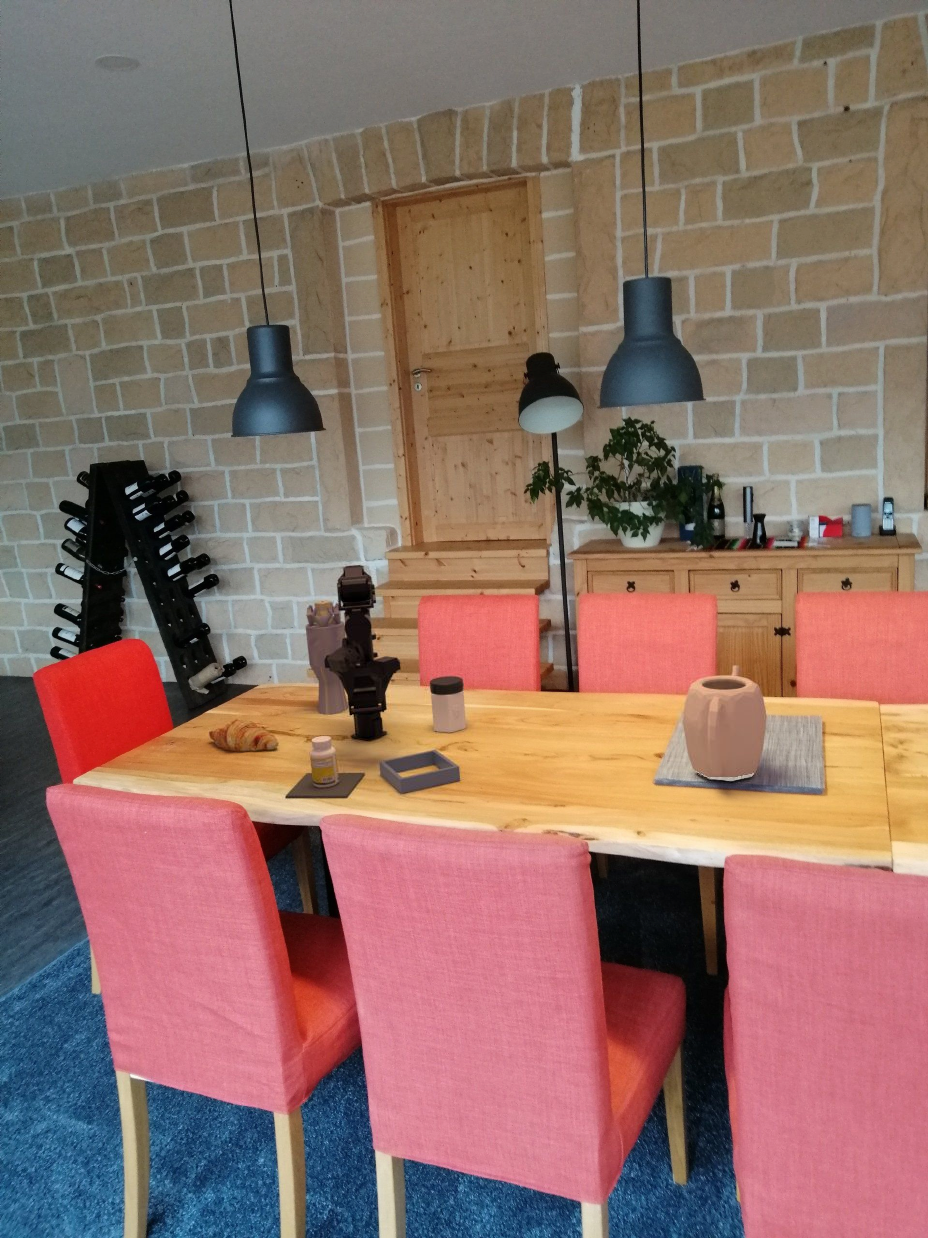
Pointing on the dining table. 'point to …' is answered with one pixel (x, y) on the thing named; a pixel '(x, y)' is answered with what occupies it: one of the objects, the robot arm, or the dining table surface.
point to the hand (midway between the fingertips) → (365, 699)
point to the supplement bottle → (323, 762)
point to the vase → (326, 653)
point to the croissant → (243, 737)
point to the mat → (339, 790)
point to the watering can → (724, 725)
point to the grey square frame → (424, 780)
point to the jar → (448, 704)
